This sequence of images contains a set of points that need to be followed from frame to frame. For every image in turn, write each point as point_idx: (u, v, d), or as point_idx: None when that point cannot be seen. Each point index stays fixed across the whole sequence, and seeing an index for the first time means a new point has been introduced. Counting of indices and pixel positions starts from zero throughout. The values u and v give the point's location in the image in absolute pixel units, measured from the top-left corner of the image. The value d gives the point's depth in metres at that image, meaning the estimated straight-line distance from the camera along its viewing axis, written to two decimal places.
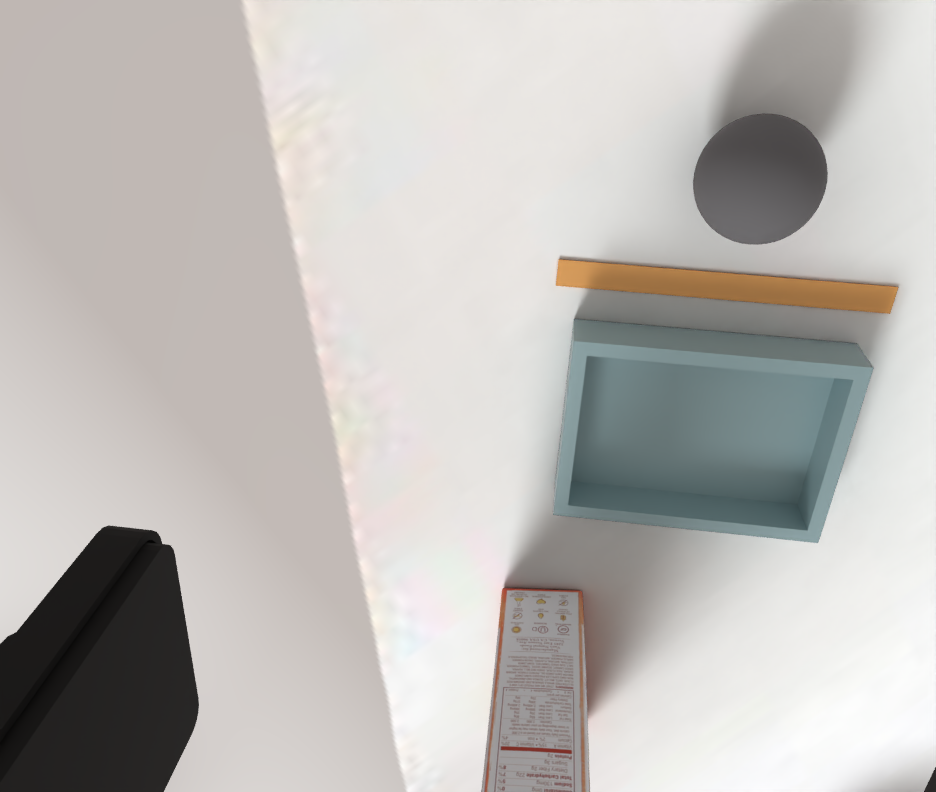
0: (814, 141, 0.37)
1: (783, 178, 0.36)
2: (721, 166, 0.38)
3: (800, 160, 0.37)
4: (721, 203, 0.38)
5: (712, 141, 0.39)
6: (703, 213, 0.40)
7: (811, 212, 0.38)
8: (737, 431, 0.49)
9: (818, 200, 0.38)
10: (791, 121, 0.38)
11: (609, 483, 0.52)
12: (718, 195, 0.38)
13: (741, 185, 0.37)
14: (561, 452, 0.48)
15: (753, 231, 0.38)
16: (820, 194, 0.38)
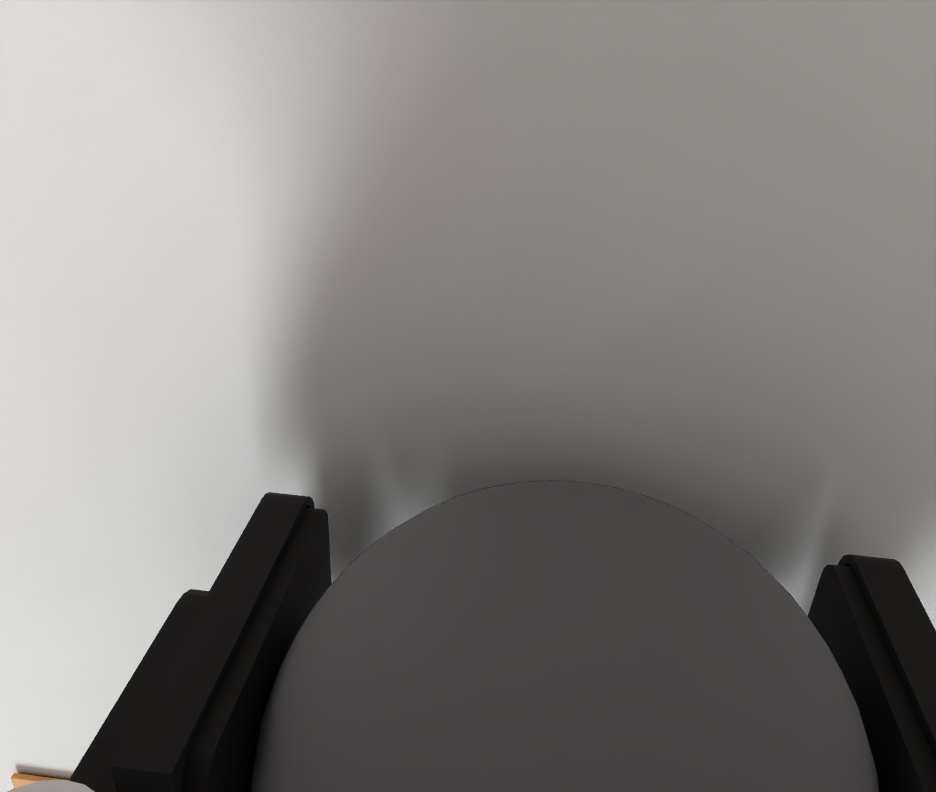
0: (815, 741, 0.06)
1: None
2: None
3: None
4: None
5: (305, 636, 0.08)
6: None
7: None
8: None
9: None
10: (684, 609, 0.07)
11: None
12: None
13: None
14: None
15: None
16: None
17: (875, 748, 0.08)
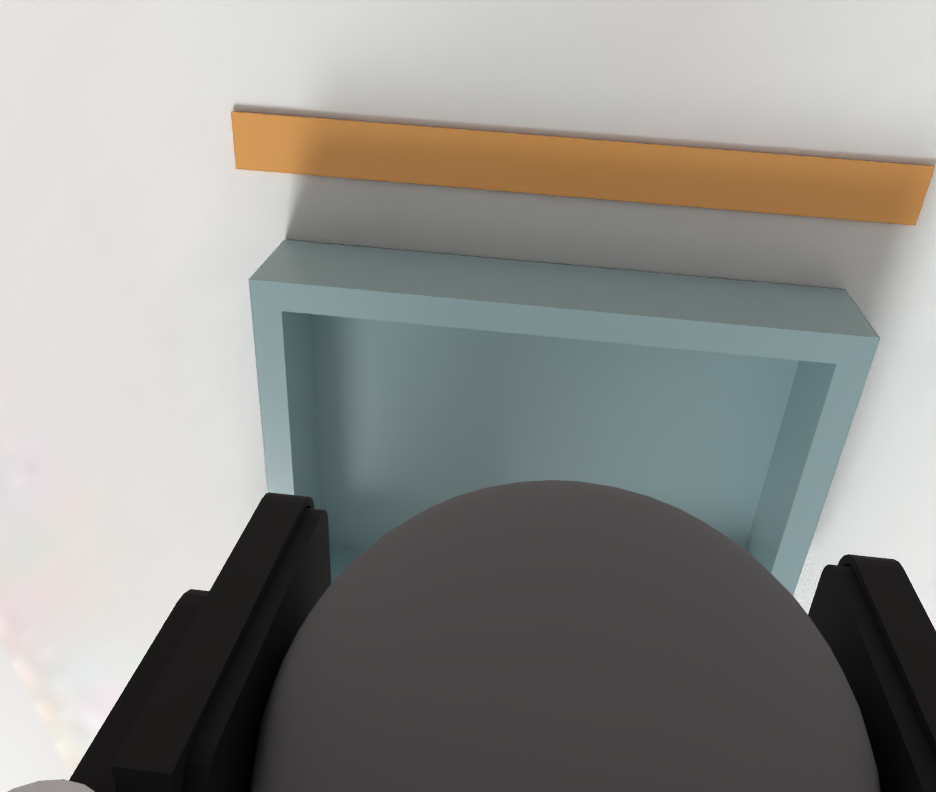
0: (816, 741, 0.06)
1: None
2: None
3: None
4: None
5: (304, 635, 0.08)
6: None
7: None
8: (617, 461, 0.26)
9: None
10: (685, 609, 0.07)
11: None
12: None
13: None
14: None
15: None
16: None
17: (875, 748, 0.08)
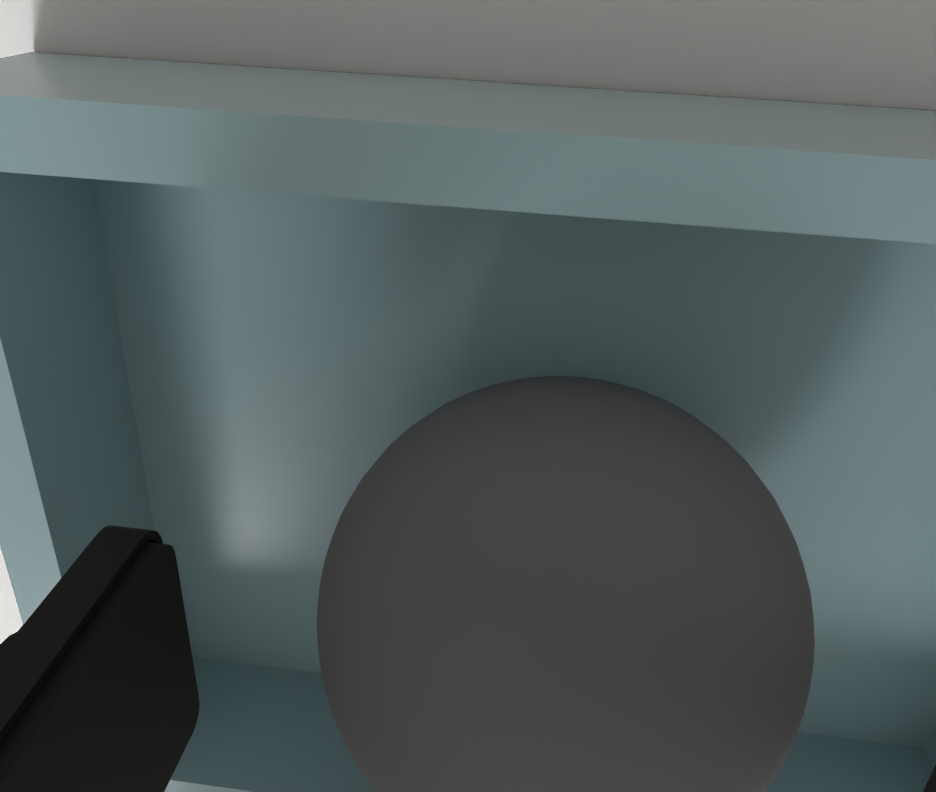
0: (756, 546, 0.08)
1: (599, 769, 0.08)
2: (351, 644, 0.09)
3: (685, 678, 0.08)
4: (369, 777, 0.09)
5: (360, 490, 0.10)
6: None
7: None
8: None
9: (776, 773, 0.09)
10: (657, 450, 0.09)
11: (302, 667, 0.16)
12: (355, 747, 0.09)
13: (420, 762, 0.08)
14: (21, 599, 0.12)
15: None
16: (785, 755, 0.09)
17: None
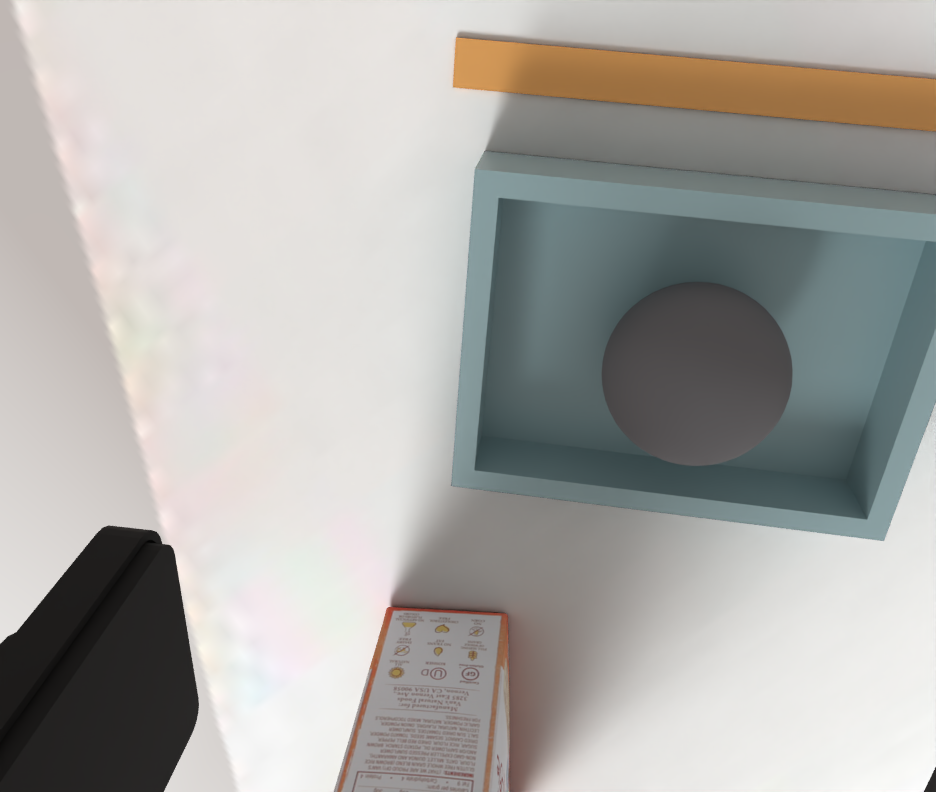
0: (773, 332, 0.25)
1: (723, 392, 0.24)
2: (634, 363, 0.25)
3: (750, 364, 0.24)
4: (634, 415, 0.26)
5: (626, 319, 0.26)
6: None
7: (767, 432, 0.26)
8: None
9: (777, 416, 0.26)
10: (740, 300, 0.25)
11: (546, 440, 0.32)
12: (630, 404, 0.26)
13: (661, 396, 0.25)
14: (461, 377, 0.29)
15: (681, 457, 0.26)
16: (781, 408, 0.25)
17: None
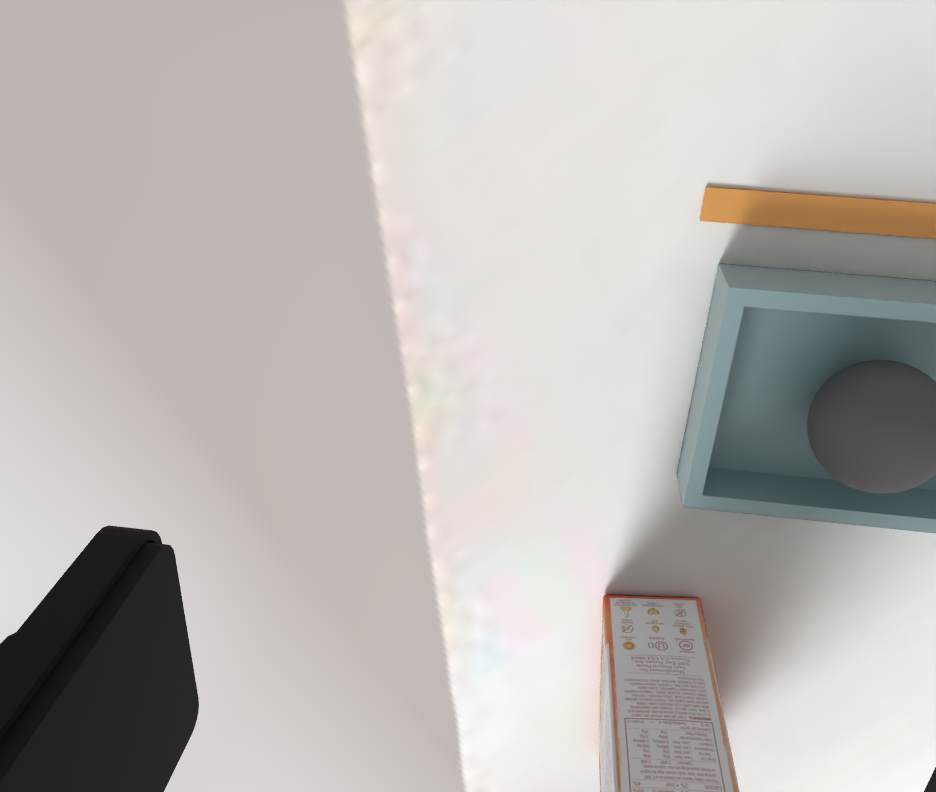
0: None
1: (913, 446, 0.34)
2: (843, 424, 0.35)
3: (932, 426, 0.34)
4: (842, 460, 0.36)
5: (832, 389, 0.37)
6: (818, 459, 0.38)
7: None
8: None
9: None
10: (920, 378, 0.35)
11: (746, 469, 0.43)
12: (839, 452, 0.36)
13: (866, 448, 0.35)
14: (700, 429, 0.39)
15: (875, 489, 0.36)
16: None
17: None
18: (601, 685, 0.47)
